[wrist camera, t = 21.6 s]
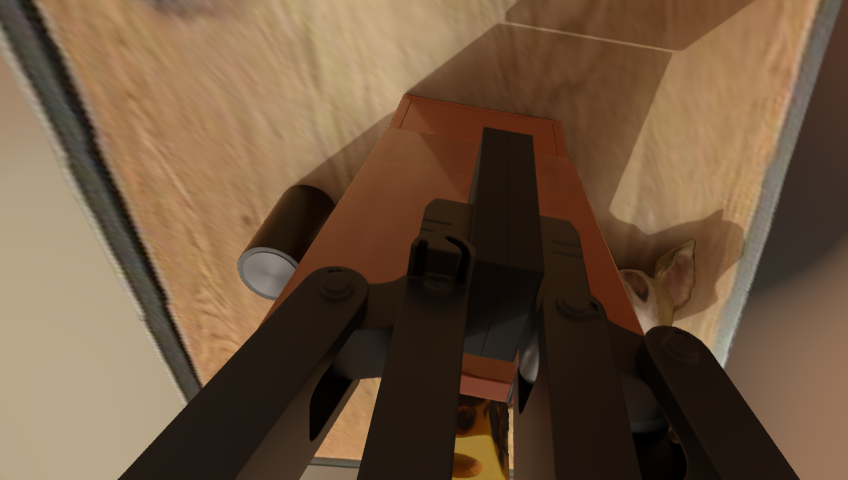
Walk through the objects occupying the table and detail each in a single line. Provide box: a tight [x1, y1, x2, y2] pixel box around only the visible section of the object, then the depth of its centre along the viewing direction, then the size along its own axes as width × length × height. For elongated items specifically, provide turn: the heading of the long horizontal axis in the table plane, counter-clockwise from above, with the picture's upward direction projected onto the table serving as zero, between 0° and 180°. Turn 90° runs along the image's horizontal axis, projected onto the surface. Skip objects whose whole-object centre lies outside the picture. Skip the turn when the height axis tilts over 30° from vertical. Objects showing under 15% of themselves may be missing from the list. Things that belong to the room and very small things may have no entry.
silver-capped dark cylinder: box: [238, 185, 336, 301], centre depth 45 cm, size 8×6×10 cm
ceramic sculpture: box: [618, 240, 695, 335], centre depth 46 cm, size 11×9×15 cm
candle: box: [452, 393, 509, 480], centre depth 57 cm, size 10×10×10 cm
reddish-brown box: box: [389, 94, 569, 159], centre depth 44 cm, size 22×13×7 cm, turn 173°
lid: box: [258, 127, 645, 404], centre depth 25 cm, size 22×13×1 cm
